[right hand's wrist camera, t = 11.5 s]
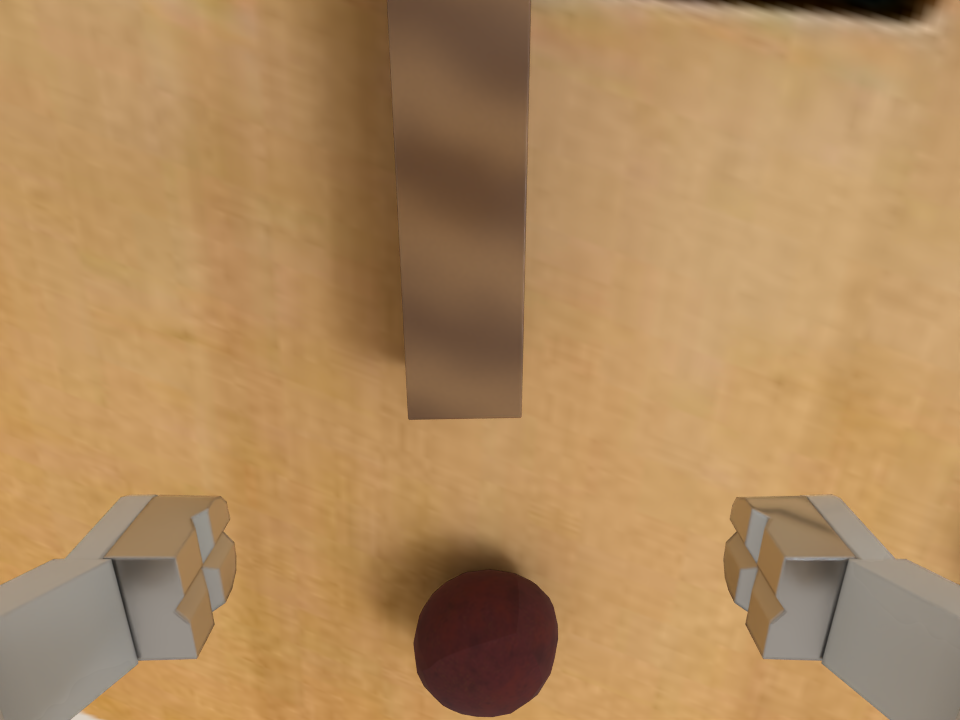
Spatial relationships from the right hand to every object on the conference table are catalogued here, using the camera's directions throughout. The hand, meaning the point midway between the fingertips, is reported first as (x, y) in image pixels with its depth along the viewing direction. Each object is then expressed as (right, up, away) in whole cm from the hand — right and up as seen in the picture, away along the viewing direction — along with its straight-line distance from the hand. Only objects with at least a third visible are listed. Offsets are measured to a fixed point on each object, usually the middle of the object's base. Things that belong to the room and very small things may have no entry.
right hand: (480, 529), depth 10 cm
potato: (0, -11, +27) cm, 29 cm away
